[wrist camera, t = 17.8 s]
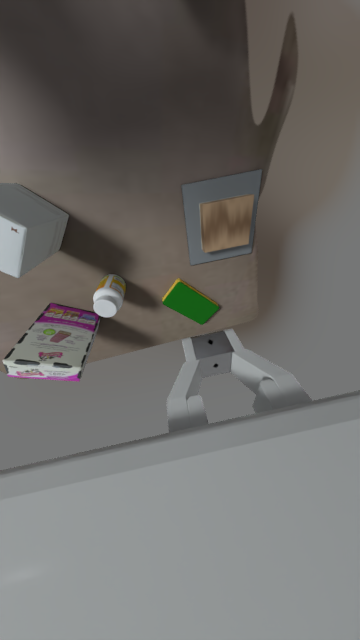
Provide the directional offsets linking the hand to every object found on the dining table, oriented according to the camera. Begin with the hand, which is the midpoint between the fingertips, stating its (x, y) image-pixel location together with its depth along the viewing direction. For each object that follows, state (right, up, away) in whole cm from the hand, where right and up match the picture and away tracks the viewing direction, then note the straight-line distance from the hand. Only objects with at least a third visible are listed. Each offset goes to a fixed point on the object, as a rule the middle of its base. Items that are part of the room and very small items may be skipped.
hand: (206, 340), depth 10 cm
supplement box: (-26, +19, +18) cm, 37 cm away
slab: (+3, +19, +21) cm, 28 cm away
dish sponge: (+1, +7, +34) cm, 34 cm away
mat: (+7, +21, +23) cm, 31 cm away
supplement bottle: (-17, +9, +27) cm, 34 cm away
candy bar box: (-28, +2, +31) cm, 42 cm away
